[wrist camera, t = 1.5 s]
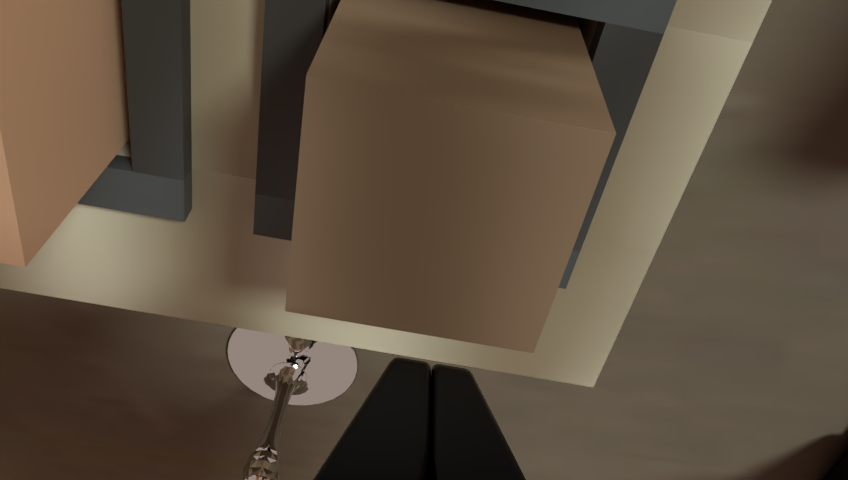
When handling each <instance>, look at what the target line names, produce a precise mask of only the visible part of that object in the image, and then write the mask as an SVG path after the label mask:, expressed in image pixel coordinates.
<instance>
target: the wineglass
mask: <svg viewBox="0 0 848 480" xmlns="http://www.w3.org/2000/svg"><path fill="white" fill-rule="evenodd" d="M227 355H228V360H229V364H230V366H231V368H232V370H233V372H234V373H235V375H236V376H237V378H238V379H239V380H240V381H241V382H242V383H243V384H244V385H245V386H247V387H248V388H249V389H251V390H252V391H253V392H255V393H257V394H258V395H260V396H262V397H265V398H267V399H269V400H272V401H274V402H273V405H272V409H271V413H270V417H269V420H268V424H267V426H266V429H265V431H264V434H263V437H262V439H261V440H260V442H259V444H258V446H257V447H256V449H255V451H254V452H253V453H252V454H251V455H250V457H249V459H248V461H247V463H246V465H245V466H244V471H243V480H278V478H279V475H280V459H279V448H280V432H281V429H282V425H283V421H284V417H285V413H286V409H287V405H298V406H308V405H316V404H321V403H325V402H328V401H331V400H333V399H335V398H337V397H339V396H340V395H342V394H343V393H344V392H345V391H346V390H347V389H348V388H349V387H350V386H351V385H352V383H353V381H354V380H355V378H356V374H357V371H358V358H357V354H356V351H355V349H354V347H349V346H343V345H338V344H332V343H326V342H320V341H314V340H308V339H302V338H296V337H290V336H284V335H278V334H272V333H266V332H260V331H254V330H248V329H242V328H236V329H235V330H234V331H233V332H232V334H231V336H230V338H229V341H228V347H227Z"/></svg>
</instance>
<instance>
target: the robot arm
mask: <svg viewBox="0 0 848 480" xmlns="http://www.w3.org/2000/svg"><path fill="white" fill-rule="evenodd" d="M313 480H526V479H525V477H524V475H523V473H522V471H521V469H520V467H519V465H518V463H517V461H516V459H515V457H514V456H513V454H512V452H511V450H510V448H509V446H508V444H507V442H506V440H505V438H504V436H503V434H502V432H501V430H500V428H499V426H498V424H497V422H496V420H495V418H494V416H493V414H492V412H491V410H490V408H489V406H488V404H487V402H486V400H485V398H484V396H483V394H482V392H481V390H480V388H479V386H478V384H477V382H476V380H475V379H474V377H473V375H472V373H471V372H470V371H469V370H467V369H464V368H458V367H452V366H446V365H440V364H437V365H434V366H433V367H432V368H430V366H429V364H428V363H426V362H422V361H416V360H410V359H404V358H394V359H393V360H392V361H391V362H390V363H389V365H388V366H387V368H386V369H385V371H384V372H383V374H382V375H381V377H380V378H379V380H378V381H377V383H376V385H375V386H374V388H373V389H372V391H371V392H370V394H369V395H368V397H367V398H366V400H365V401H364V403H363V404H362V406H361V407H360V409H359V410H358V412H357V413H356V415H355V416H354V418H353V419H352V421H351V423H350V424H349V426H348V427H347V429H346V430H345V432H344V433H343V435H342V436H341V438H340V439H339V441H338V442H337V444H336V445H335V447H334V448H333V450H332V451H331V453H330V454H329V456H328V458H327V459H326V461H325V462H324V464H323V465H322V467H321V468H320V470H319V471H318V473H317V474H316V476H315V477H314V479H313ZM823 480H848V449H847V450H846V452H845V453H844V454H843V455H842V456H841V458H840V459H839V460H838V461H837V463H836V464H835V465H834V466H833V467H832V469H831V470H830V471H829V472H828V473H827V475H826V476H825V477H824V478H823Z"/></svg>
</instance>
